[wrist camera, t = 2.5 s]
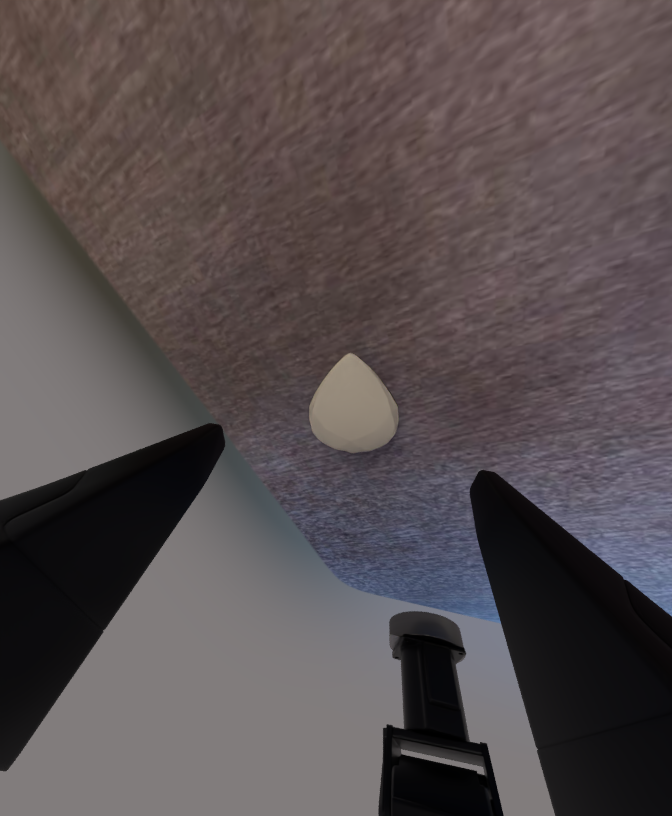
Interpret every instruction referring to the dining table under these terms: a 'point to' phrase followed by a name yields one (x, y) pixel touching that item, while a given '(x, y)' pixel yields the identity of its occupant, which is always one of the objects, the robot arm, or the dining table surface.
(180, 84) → the dining table surface
